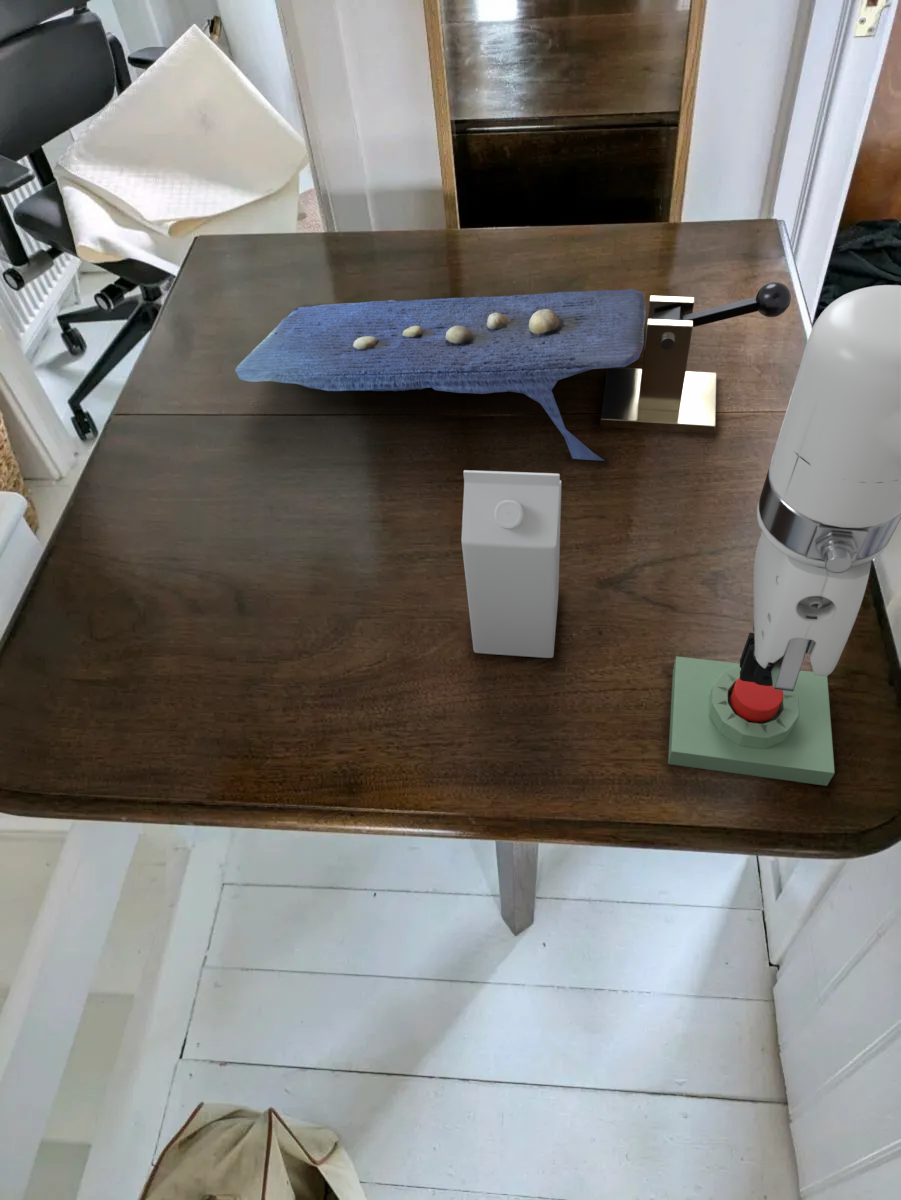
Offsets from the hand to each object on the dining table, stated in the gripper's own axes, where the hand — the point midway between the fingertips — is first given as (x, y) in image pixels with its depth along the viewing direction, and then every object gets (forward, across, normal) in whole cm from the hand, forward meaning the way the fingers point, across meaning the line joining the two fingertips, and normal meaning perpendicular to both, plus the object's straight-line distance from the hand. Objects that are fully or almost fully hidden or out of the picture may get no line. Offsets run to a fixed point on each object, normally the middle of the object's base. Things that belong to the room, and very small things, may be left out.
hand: (761, 674), depth 63 cm
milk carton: (+8, +8, +20) cm, 22 cm away
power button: (+4, 0, 0) cm, 4 cm away
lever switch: (-3, +40, +3) cm, 40 cm away
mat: (+8, +43, +33) cm, 55 cm away
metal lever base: (+8, +40, +9) cm, 41 cm away
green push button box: (+8, 0, 0) cm, 8 cm away
